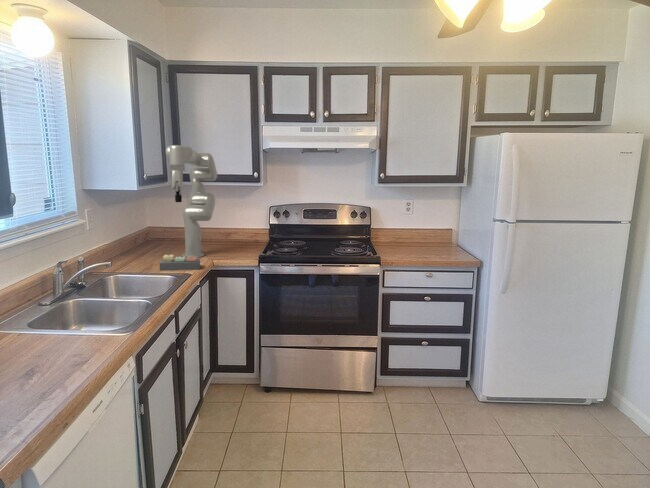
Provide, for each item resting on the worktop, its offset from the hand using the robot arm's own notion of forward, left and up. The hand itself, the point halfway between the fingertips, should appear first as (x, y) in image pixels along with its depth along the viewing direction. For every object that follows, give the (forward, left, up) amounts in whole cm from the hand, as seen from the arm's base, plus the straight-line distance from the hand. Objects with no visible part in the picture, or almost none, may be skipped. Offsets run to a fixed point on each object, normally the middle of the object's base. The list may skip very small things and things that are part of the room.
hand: (178, 202), depth 235 cm
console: (+10, +5, -35) cm, 37 cm away
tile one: (+12, -1, -33) cm, 35 cm away
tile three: (+7, +10, -34) cm, 37 cm away
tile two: (+10, +5, -34) cm, 36 cm away
